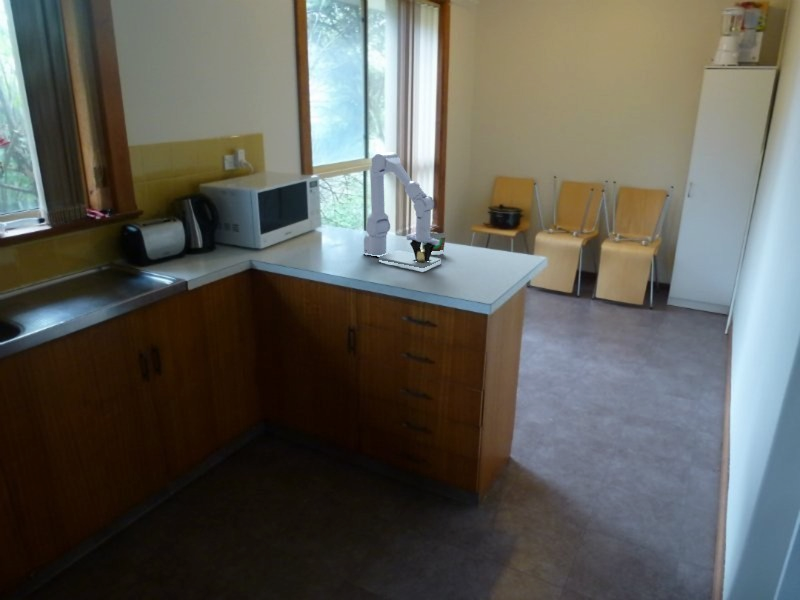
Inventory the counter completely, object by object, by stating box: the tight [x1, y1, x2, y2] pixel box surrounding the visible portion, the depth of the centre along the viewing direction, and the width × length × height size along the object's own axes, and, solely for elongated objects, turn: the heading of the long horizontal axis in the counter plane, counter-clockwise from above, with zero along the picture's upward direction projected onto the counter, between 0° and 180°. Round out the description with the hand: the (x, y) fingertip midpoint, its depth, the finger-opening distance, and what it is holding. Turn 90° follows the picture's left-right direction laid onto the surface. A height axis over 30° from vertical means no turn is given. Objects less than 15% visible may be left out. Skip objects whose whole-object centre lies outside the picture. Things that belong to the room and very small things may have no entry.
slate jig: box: [378, 249, 442, 268], centre depth 245 cm, size 22×14×2 cm, turn 56°
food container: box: [421, 231, 448, 251], centre depth 259 cm, size 12×6×10 cm, turn 62°
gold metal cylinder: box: [417, 248, 427, 264], centre depth 241 cm, size 4×4×6 cm
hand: (422, 259), depth 242 cm, fingers closed on gold metal cylinder, 4 cm apart
